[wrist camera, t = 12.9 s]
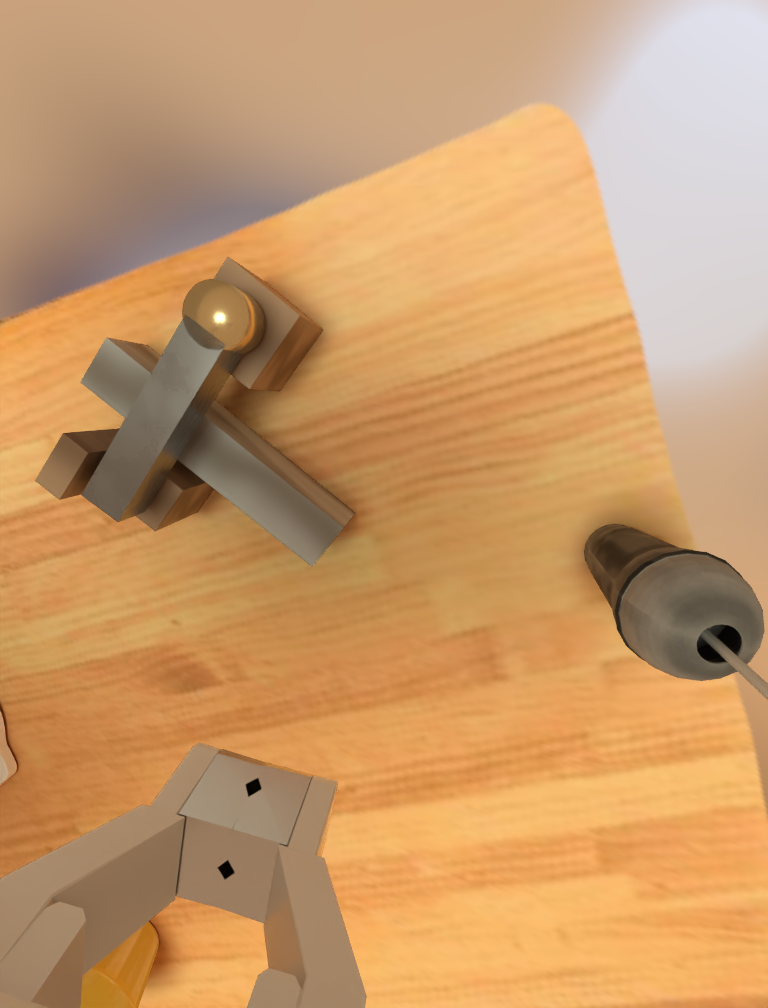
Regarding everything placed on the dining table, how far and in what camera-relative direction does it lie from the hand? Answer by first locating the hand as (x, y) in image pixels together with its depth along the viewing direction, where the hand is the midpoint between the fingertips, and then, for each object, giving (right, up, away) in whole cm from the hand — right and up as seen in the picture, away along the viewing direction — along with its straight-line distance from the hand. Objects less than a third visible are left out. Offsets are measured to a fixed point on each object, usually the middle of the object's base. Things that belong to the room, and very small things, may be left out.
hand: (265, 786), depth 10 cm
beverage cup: (+21, +2, +29) cm, 36 cm away
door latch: (-8, +12, +31) cm, 34 cm away
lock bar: (-11, +13, +24) cm, 29 cm away
